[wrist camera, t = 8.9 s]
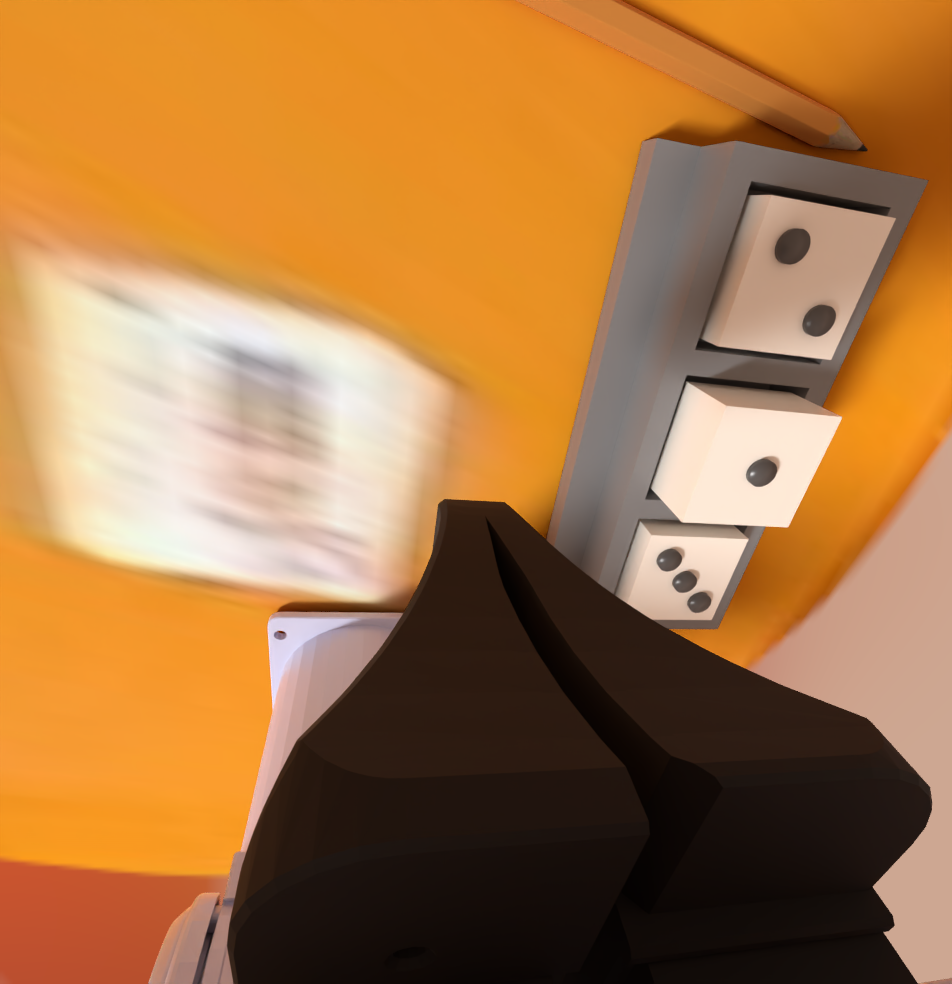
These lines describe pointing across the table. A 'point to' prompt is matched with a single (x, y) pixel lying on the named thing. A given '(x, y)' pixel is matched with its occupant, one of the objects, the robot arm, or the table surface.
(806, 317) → the tile two
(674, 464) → the tile one
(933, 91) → the table surface
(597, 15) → the pencil
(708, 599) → the tile three
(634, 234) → the tile board
